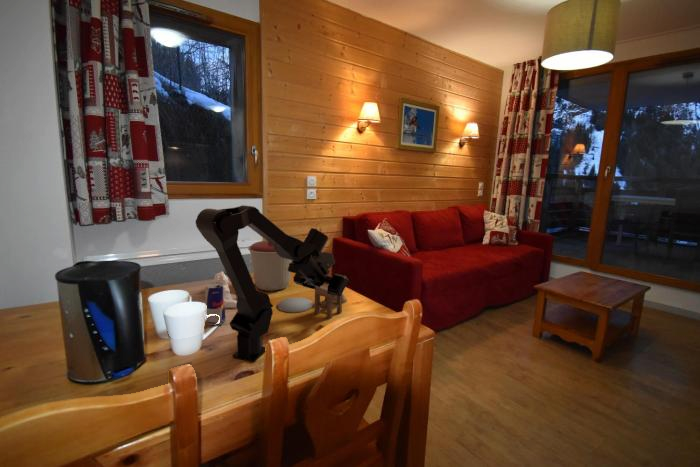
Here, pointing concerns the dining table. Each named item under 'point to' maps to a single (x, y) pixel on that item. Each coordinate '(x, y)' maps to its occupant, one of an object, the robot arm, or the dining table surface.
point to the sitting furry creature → (226, 290)
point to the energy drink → (215, 302)
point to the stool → (326, 301)
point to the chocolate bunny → (342, 298)
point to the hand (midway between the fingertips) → (331, 292)
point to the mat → (295, 305)
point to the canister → (269, 267)
